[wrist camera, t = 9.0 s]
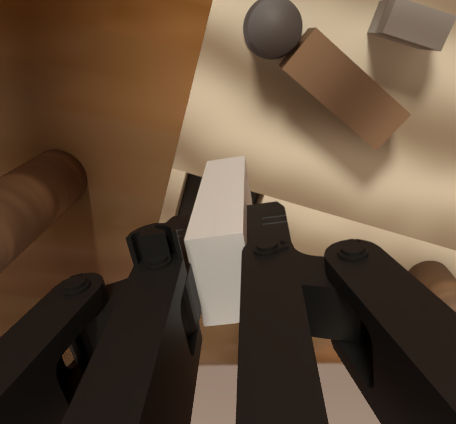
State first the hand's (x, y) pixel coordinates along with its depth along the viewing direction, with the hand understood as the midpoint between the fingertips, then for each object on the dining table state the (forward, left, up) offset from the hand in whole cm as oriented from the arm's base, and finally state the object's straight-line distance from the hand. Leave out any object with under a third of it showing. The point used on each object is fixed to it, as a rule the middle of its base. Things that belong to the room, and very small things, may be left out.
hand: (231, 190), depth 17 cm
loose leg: (+7, -12, -13) cm, 18 cm away
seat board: (-1, +7, -12) cm, 15 cm away
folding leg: (-5, +3, -9) cm, 11 cm away
